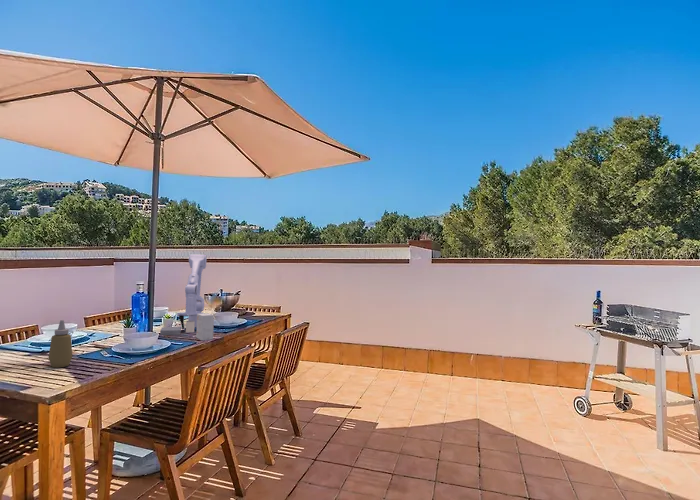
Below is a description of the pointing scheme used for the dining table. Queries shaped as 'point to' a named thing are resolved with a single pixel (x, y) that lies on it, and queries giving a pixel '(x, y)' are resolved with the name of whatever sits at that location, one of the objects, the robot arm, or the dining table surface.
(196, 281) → the robot arm
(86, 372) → the dining table surface
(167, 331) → the slate base
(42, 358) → the dining table surface
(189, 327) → the cream block
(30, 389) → the dining table surface
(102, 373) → the dining table surface
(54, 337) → the squeeze bottle
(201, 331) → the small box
